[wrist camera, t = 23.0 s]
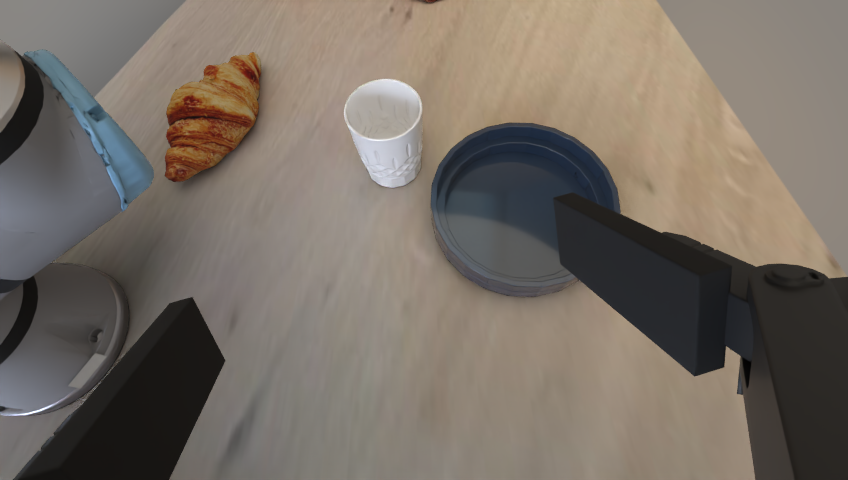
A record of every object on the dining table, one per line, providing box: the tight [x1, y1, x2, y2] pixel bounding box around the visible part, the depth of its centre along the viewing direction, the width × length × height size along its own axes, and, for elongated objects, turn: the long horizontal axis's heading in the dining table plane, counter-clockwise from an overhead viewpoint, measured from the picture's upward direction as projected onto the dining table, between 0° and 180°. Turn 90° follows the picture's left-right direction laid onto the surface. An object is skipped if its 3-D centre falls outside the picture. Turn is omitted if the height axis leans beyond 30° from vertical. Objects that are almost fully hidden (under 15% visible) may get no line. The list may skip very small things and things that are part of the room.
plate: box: [431, 123, 621, 297], centre depth 44 cm, size 20×20×4 cm
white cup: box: [344, 79, 423, 188], centre depth 44 cm, size 8×8×10 cm
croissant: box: [165, 52, 261, 182], centre depth 50 cm, size 21×10×8 cm, turn 164°
